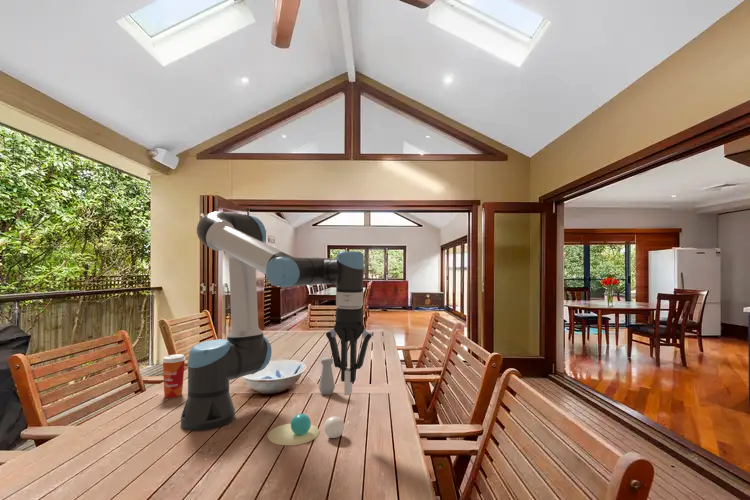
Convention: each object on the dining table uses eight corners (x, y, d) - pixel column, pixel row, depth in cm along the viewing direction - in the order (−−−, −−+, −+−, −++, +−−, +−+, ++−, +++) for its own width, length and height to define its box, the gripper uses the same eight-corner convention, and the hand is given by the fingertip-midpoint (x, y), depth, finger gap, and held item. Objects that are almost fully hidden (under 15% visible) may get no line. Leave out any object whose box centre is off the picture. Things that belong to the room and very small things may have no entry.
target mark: (258, 443, 102) (258, 442, 102) (280, 421, 116) (280, 421, 116) (308, 447, 100) (308, 446, 100) (325, 425, 113) (325, 424, 113)
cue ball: (345, 432, 102) (331, 446, 103) (350, 424, 108) (336, 437, 108) (331, 416, 103) (317, 430, 104) (336, 409, 109) (323, 422, 109)
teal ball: (308, 437, 104) (289, 440, 105) (315, 428, 110) (297, 431, 110) (304, 416, 105) (285, 419, 105) (311, 409, 110) (293, 412, 111)
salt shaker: (331, 396, 138) (332, 360, 138) (316, 395, 139) (316, 359, 140) (336, 391, 144) (336, 356, 144) (322, 390, 145) (322, 355, 145)
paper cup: (156, 397, 137) (156, 357, 138) (174, 390, 144) (175, 353, 145) (172, 400, 134) (172, 359, 135) (190, 393, 141) (190, 355, 142)
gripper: (322, 307, 104) (321, 396, 103) (370, 309, 101) (368, 400, 101) (330, 304, 111) (329, 387, 110) (375, 306, 109) (374, 390, 108)
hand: (348, 393), depth 106 cm, fingers closed
